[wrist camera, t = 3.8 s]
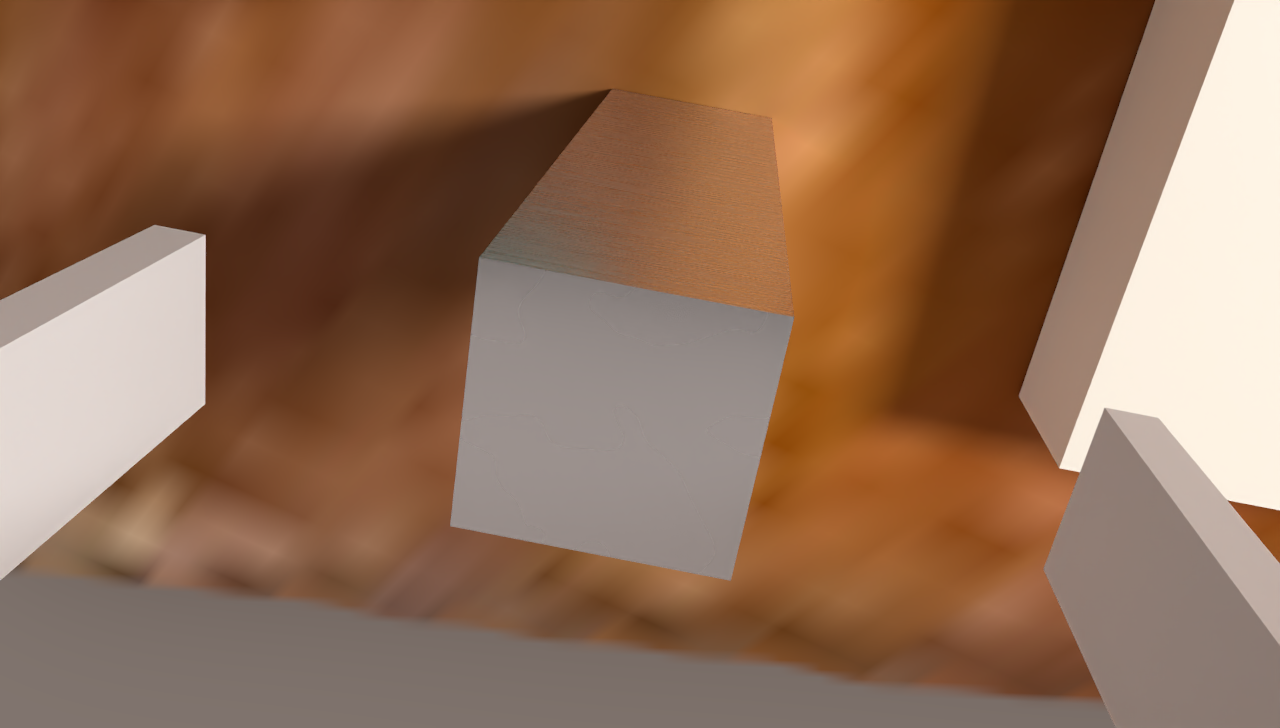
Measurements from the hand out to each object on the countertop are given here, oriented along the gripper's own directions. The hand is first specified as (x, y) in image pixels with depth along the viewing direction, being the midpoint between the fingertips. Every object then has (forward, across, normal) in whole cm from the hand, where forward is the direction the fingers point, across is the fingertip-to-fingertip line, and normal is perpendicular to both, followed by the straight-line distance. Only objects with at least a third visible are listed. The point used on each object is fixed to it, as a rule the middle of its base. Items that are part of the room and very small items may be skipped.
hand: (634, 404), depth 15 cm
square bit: (+13, 0, 0) cm, 13 cm away
